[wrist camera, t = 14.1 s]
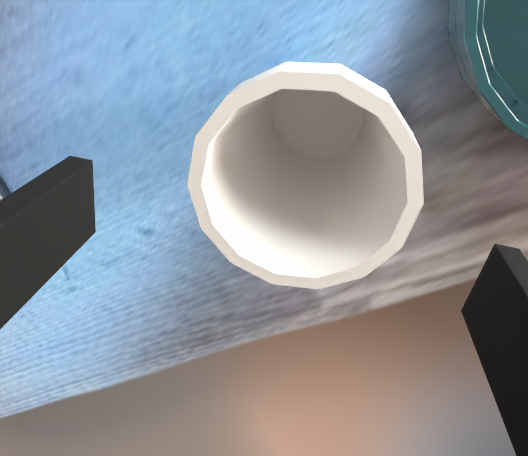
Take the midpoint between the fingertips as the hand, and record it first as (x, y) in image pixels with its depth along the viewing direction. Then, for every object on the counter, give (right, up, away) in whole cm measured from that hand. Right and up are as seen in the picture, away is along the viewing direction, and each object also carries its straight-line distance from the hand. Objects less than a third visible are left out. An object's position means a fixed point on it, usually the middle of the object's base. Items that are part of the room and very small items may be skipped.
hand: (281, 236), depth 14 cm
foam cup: (+3, +8, +15) cm, 17 cm away
